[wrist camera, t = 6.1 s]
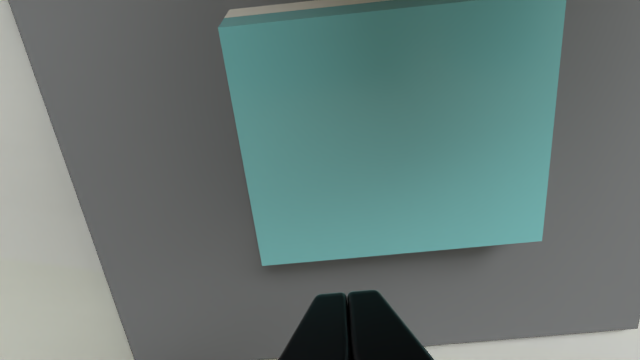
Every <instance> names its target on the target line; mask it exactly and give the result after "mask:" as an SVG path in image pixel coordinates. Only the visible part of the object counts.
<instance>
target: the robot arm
mask: <svg viewBox="0 0 640 360" xmlns="http://www.w3.org/2000/svg"><path fill="white" fill-rule="evenodd" d="M347 301H348V302H347ZM278 360H434V359H433V358H432V357H431V355H430V354H429V353H428V352H427V350H426V349H425V348H424V347H423V346H422V344H421V343H420V342H419V341H418V339H417V338H416V337H415V336H414V334H413V333H412V332H411V331H410V329H409V328H408V327H407V326H406V325H405V323H404V322H403V321H402V320H401V318H400V317H399V316H398V315H397V313H396V312H395V311H394V310H393V309H392V307H391V306H390V305H389V304H388V302H387V301H386V300H385V299H384V297H383V296H382V295H381V294H380V293H379V292H378V291H377V290H363V291H352V292H350V293H349V294H348V296H346V295H345V294H344V293H342V292H340V293H328V294H319V295H317V296H316V297H315V298H314V299H313V301H312V303H311V305H310V306H309V308H308V310H307V311H306V313H305V315H304V317H303V318H302V320H301V322H300V323H299V325H298V327H297V328H296V330H295V332H294V334H293V335H292V337H291V339H290V340H289V342H288V344H287V346H286V347H285V349H284V351H283V352H282V354H281V356H280V358H279V359H278Z"/></svg>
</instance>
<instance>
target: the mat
mask: <svg viewBox="0 0 640 360" xmlns="http://www.w3.org/2000/svg"><path fill="white" fill-rule="evenodd" d="M8 1H9V4H10V6H11V9H12V12H13V15H14V18H15V21H16V24H17V26H18V29H19V32H20V35H21V38H22V41H23V43H24V46H25V49H26V52H27V55H28V58H29V61H30V63H31V66H32V69H33V72H34V75H35V78H36V80H37V83H38V86H39V89H40V92H41V95H42V97H43V100H44V103H45V106H46V109H47V112H48V115H49V117H50V120H51V123H52V126H53V129H54V132H55V134H56V137H57V140H58V143H59V146H60V149H61V152H62V154H63V157H64V160H65V163H66V166H67V169H68V171H69V174H70V177H71V180H72V183H73V186H74V188H75V191H76V194H77V197H78V200H79V203H80V206H81V208H82V211H83V214H84V217H85V220H86V223H87V225H88V228H89V231H90V234H91V237H92V240H93V243H94V245H95V248H96V251H97V254H98V257H99V260H100V262H101V265H102V268H103V271H104V274H105V277H106V279H107V282H108V285H109V288H110V291H111V294H112V297H113V299H114V302H115V305H116V308H117V311H118V314H119V316H120V319H121V322H122V325H123V328H124V331H125V334H126V336H127V339H128V342H129V345H130V348H131V351H132V353H133V356H134V359H135V360H260V359H273V358H280V356H281V354H282V352H283V351H284V349H285V347H286V346H287V344H288V342H289V340H290V339H291V337H292V335H293V334H294V332H295V330H296V328H297V327H298V325H299V323H300V322H301V320H302V318H303V317H304V315H305V313H306V311H307V310H308V308H309V306H310V305H311V303H312V301H313V299H314V298H315V297H316V296H317V295H319V294H328V293H340V292H342V293H344V294H345V295H346V296H348V294H349V293H350V292H352V291H363V290H377V291H378V292H379V293H380V294H381V295H382V296H383V297H384V299H385V300H386V301H387V302H388V304H389V305H390V306H391V307H392V309H393V310H394V311H395V312H396V313H397V315H398V316H399V317H400V318H401V320H402V321H403V322H404V323H405V325H406V326H407V327H408V328H409V329H410V331H411V332H412V333H413V334H414V336H415V337H416V338H417V339H418V341H419V342H420V343H421V344H422V346H431V345H443V344H455V343H467V342H479V341H491V340H503V339H516V338H528V337H540V336H552V335H564V334H576V333H589V332H601V331H613V330H625V329H637V328H638V324H639V319H640V0H566V8H565V18H564V28H563V38H562V48H561V58H560V68H559V78H558V88H557V98H556V108H555V118H554V127H553V137H552V147H551V157H550V167H549V177H548V187H547V197H546V207H545V217H544V227H543V237H542V241H538V242H527V243H515V244H504V245H493V246H482V247H470V248H459V249H448V250H437V251H425V252H414V253H403V254H392V255H380V256H369V257H358V258H347V259H335V260H324V261H313V262H302V263H290V264H279V265H268V266H262V262H261V257H260V251H259V246H258V241H257V235H256V230H255V225H254V219H253V214H252V208H251V203H250V198H249V192H248V187H247V181H246V176H245V171H244V165H243V160H242V155H241V149H240V144H239V138H238V133H237V128H236V122H235V117H234V112H233V106H232V101H231V95H230V90H229V85H228V79H227V74H226V68H225V63H224V58H223V52H222V47H221V42H220V36H219V31H218V27H219V25H220V24H221V22H222V21H223V19H224V17H225V16H226V14H227V13H228V11H229V10H230V9H239V8H248V7H258V6H267V5H276V4H286V3H295V2H304V1H314V0H8ZM347 302H348V301H347Z"/></svg>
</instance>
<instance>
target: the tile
mask: <svg viewBox="0 0 640 360" xmlns="http://www.w3.org/2000/svg"><path fill="white" fill-rule="evenodd" d="M565 8H566V0H314V1H304V2H295V3H286V4H276V5H267V6H258V7H248V8H239V9H230V10H229V11H228V13H227V14H226V16H225V17H224V19H223V21H222V22H221V24H220V25H219V27H218V31H219V36H220V42H221V47H222V52H223V58H224V63H225V68H226V74H227V79H228V85H229V90H230V95H231V101H232V106H233V112H234V117H235V122H236V128H237V133H238V138H239V144H240V149H241V155H242V160H243V165H244V171H245V176H246V181H247V187H248V192H249V198H250V203H251V208H252V214H253V219H254V225H255V230H256V235H257V241H258V246H259V251H260V257H261V262H262V266H268V265H279V264H290V263H302V262H313V261H324V260H335V259H347V258H358V257H369V256H380V255H392V254H403V253H414V252H425V251H437V250H448V249H459V248H470V247H482V246H493V245H504V244H515V243H527V242H538V241H542V237H543V227H544V217H545V207H546V197H547V187H548V177H549V167H550V157H551V147H552V137H553V127H554V118H555V108H556V98H557V88H558V78H559V68H560V58H561V48H562V38H563V28H564V18H565Z"/></svg>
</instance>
